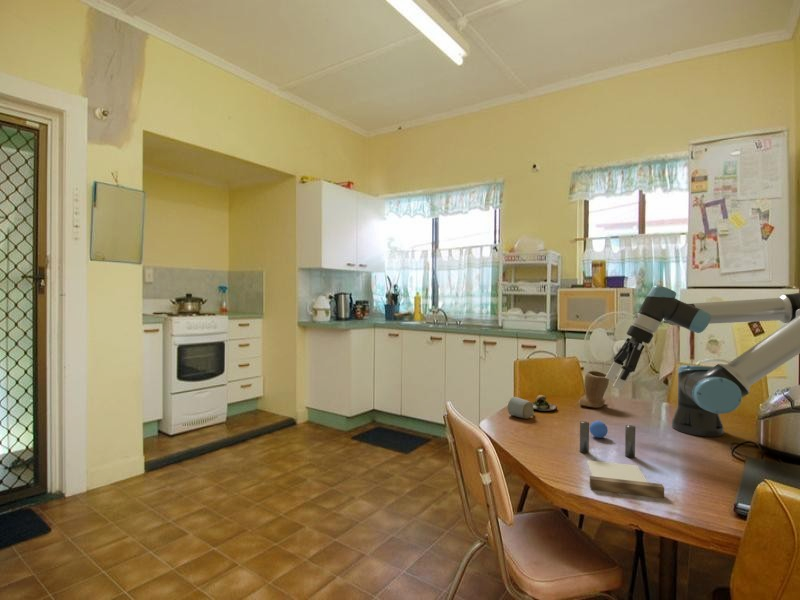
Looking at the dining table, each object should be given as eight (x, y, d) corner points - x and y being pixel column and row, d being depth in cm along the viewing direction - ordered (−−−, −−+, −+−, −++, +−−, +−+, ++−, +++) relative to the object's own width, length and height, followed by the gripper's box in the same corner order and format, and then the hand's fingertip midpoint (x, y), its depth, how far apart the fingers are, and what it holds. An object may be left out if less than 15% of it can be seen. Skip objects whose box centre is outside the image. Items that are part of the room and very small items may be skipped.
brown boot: (606, 411, 178) (606, 375, 178) (575, 407, 185) (576, 372, 185) (612, 403, 191) (612, 370, 191) (583, 400, 198) (583, 367, 198)
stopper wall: (661, 494, 104) (661, 484, 104) (664, 498, 102) (664, 487, 102) (589, 485, 108) (589, 475, 108) (590, 489, 106) (590, 479, 106)
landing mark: (637, 466, 121) (637, 465, 121) (649, 485, 109) (649, 484, 109) (586, 460, 125) (586, 460, 125) (593, 479, 112) (593, 478, 112)
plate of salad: (528, 412, 177) (529, 394, 177) (525, 405, 189) (526, 388, 189) (559, 414, 175) (559, 396, 175) (554, 407, 187) (554, 389, 186)
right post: (633, 455, 129) (634, 425, 129) (636, 458, 127) (636, 428, 127) (624, 454, 130) (624, 424, 130) (626, 457, 127) (626, 427, 127)
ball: (606, 435, 147) (606, 419, 147) (608, 440, 142) (609, 424, 142) (588, 434, 149) (588, 418, 149) (590, 439, 144) (590, 422, 143)
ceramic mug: (524, 421, 164) (524, 401, 164) (506, 416, 170) (507, 397, 170) (539, 416, 171) (539, 398, 171) (522, 412, 177) (522, 394, 177)
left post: (588, 450, 133) (588, 421, 133) (589, 453, 130) (589, 424, 130) (579, 450, 133) (579, 421, 133) (580, 453, 131) (580, 423, 131)
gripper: (623, 321, 160) (596, 371, 163) (641, 327, 136) (609, 386, 139) (643, 330, 158) (616, 381, 161) (665, 338, 134) (632, 397, 137)
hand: (612, 383), depth 150 cm, fingers open, 13 cm apart
